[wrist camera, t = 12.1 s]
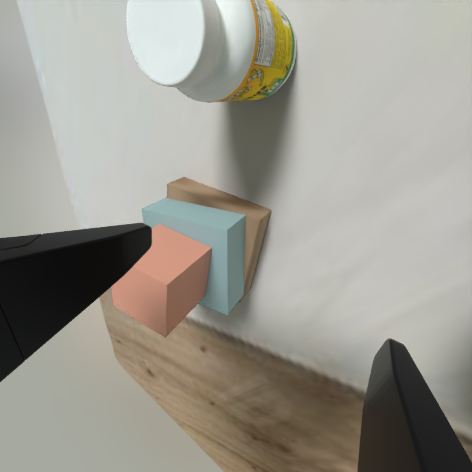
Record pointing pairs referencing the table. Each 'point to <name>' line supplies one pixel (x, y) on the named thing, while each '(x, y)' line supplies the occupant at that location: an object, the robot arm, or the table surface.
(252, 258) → the tower base
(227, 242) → the tower top
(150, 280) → the brick cube
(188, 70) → the supplement bottle
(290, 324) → the table surface
